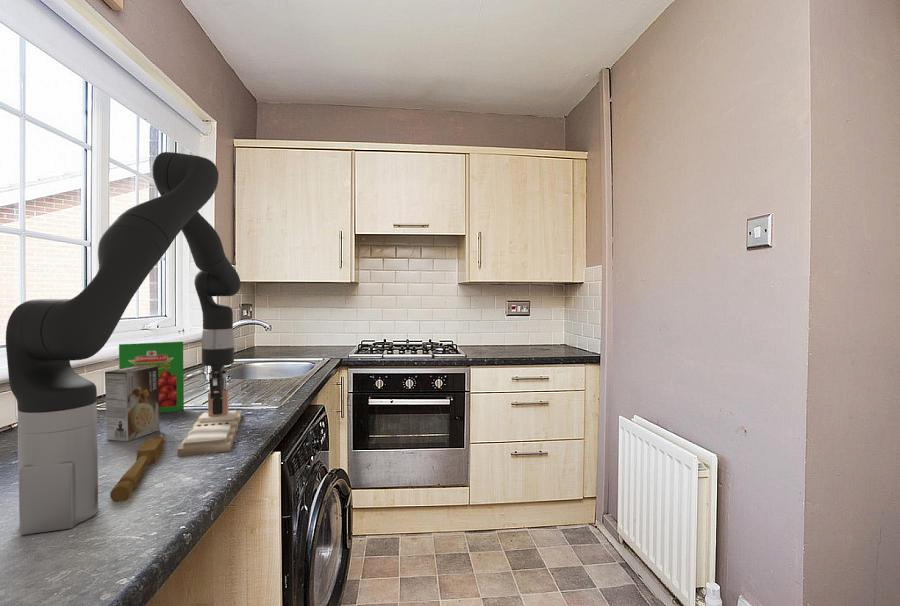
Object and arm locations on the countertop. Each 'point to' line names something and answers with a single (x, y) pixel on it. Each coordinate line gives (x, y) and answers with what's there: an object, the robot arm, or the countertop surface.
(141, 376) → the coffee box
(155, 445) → the tap handle
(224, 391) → the stub
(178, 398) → the tomato puree packet
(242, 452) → the countertop surface
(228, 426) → the board
